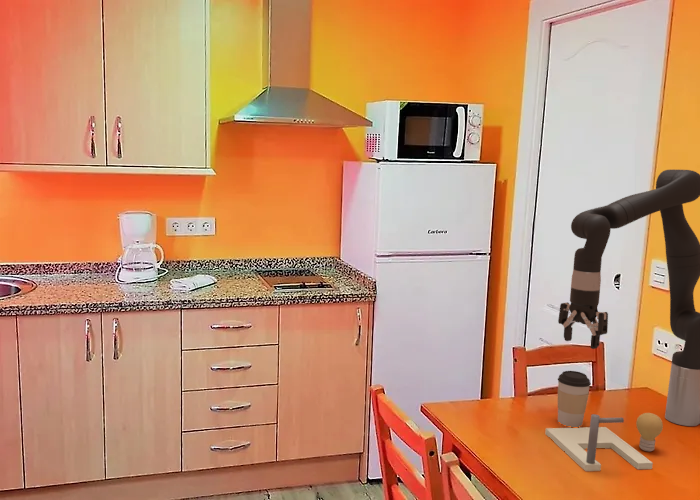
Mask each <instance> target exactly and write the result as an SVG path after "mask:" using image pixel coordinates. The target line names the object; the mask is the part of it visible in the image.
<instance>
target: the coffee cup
mask: <svg viewBox="0 0 700 500" xmlns="http://www.w3.org/2000/svg"><path fill="white" fill-rule="evenodd" d="M557 381H558V384H557V386H558V387H557V423H558V422H560V423H561V424H563V425H566V426H571V427H579V426H581V425H582V426H583V422H584V417H585V413H586V409H587V405H588V398H589V394H590V391H589V390H590V386H591V385H592V384H591V380H590V379H589V378H588V376H587V374H585V373H583V372H581V371H577V370H565V371H563V372H562V373H561V374H559V375H558V378H557ZM561 424H560V425H561ZM563 425H562V426H563ZM566 426H565V427H566ZM582 426H581V427H582ZM571 427H570V428H571ZM579 428H580V427H579Z"/></svg>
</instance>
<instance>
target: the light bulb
mask: <svg viewBox="0 0 700 500" xmlns="http://www.w3.org/2000/svg"><path fill="white" fill-rule="evenodd" d="M663 423H664V422H663V420H662V419H661V417H660V416H659V415H657V414H655V413H651V412H643V413H642V414H639V415H638V417H637V418H636V423H635V425H636V428H637V431H638V433H639V435H640V437H639V445H638V446H639V448H640V449H641V451H645V452H652V451H655V447H656V446H655V445H656V438H657V437H658V436H659V435H661V433H662V431H663V428H664V426H663V425H664V424H663Z"/></svg>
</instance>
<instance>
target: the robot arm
mask: <svg viewBox="0 0 700 500" xmlns="http://www.w3.org/2000/svg"><path fill="white" fill-rule="evenodd" d="M699 197H700V173H698V171H695V170H690V169H665V170H662V172H660V173H659V174H658V176H657V179H656V182H655V189H651V190H647V191H643V192H639V193H634V194H631V195H628V196H625V197H622V198H620V199H617V200H615V201H612V202H611V203H608V204H607V205H603V206H599V207H594V208H591V209H587V210H585V211H582V212H580V213H578V214H576V215H575V216H574V218H573V219H572V221H571V224H570V228H571V232H572V233H573V235H574V236H575V237H577V238H580V239H583V240H586V241H585V243H584V245H583V247H581V248H578V249H576V250H575V252H574V258H573V268H572V269H573V270H572V275H571V280H570V281H571V283H570V294H569V296H570V297H569V301H570V303H569V302H562V303H560V306H559V313H558V320H557V321H558V322H557V323H558V324H561V325H562V327H563V339H564V341H566V342H569V341H572V339H573V325H574V324H575V323H578V324H579V323H580V324H582V325H585V326H586V327H587V328H588V329H589V331H590V332H591V336H590V346H589V347H590V349H592V350H596V349H598V348H599V346H600V339H601V336H602V335H607V334H608V325H609V323H608V322H609V321H608V320H609V313H608V311H602V312H601V311H598V306H599V304H600V293H601V284H602V283H601V282H602V279H601V277H602V274H601V272H602V269H601V268H602V257H603V255H604V253H605V250H606V247H607V244H608V241H609V238H610V236H611V229H613V230H614V229H620V228H623V227H624V226H627V225H629V224H631V223H634V222H635V221H638V220H639V219H642V218H644V217H647V216H649V215H652V214H654V213H657V212H660V217H661V220H662V222H661V223H662V229H663V237H664V244H665V245H664V247H665V257H666V266H667V272H668V273H667V274H668V284H669V298H670V299H669V301H670V302H669V303H670V305H669V323H670V324H669V325H670V329H671V332H672V334H673V335H674V336H675V337H677V338H678V339H680V340H682V341H685V342H684V346H683V349H682V350H681V351H680V350H679V351H675V352H673V354H672V358H671V366H670V374H669V382H668V388H667V390H668V391H667V398H666V405H665V412H664V413H665V414H664V418H665V419H666V420H667V421H669V422H670V423H673V424H676V425H680V426H686V427H696V426H699V425H700V312H698V311H696V307H695V301H694V299H695V298H694V290H695V287H696V285H697V283H698V281H699V279H700V241H699V238H698V237H697V235H696V234H695V232H694V230H693V229H692V227H691V225H690V224H689V222H688V220H687V218H686V216H685V211H684V207H683V204H687V203H688V204H689V203H691V202H694V201H696V200H698V199H699ZM569 312H570V315H569Z"/></svg>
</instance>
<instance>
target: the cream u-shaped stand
mask: <svg viewBox="0 0 700 500" xmlns="http://www.w3.org/2000/svg"><path fill="white" fill-rule="evenodd" d="M624 421H625V420H624V417H601V416H600V415H599V414H595V413H593V414H591V415H590V422H589V423H590V424H589V426H588V427H587V426H586V427H579V428H571V427H555V428H553V427H546V428H545V430H544V431H545V432H544V433H545V436H547V437H548V438H549V437H550V438H551V439H552V440H553V441H554V442H553V443H554V444H555V445H556V446H558V447H559V448H560V449H561V450H562V451H563V452H564V451H565V452H564V453H565V454H567V456H568V457H569V458H571V459H572V460H573V462H575V463H576V464H577V465H578V466H579V467H580V468H581V469H583V470H584V471H585V472H600V471H601V469H602V468H601V467H602V464H601V463H600V462H599V461H598V460H596V456H597V449H596V448H605V449H612V450H613V451H614V452H616V454H617V455H619V456H620V457H621V458H623V459H624V460H625V461H627V462H628V463H629V464H630V465H631V466H632V467H634V468H635V469H637V470H652V469H653V464H654V463H653V461H651V460H649V459H648V458H647V457H646V456H644V455H643V454H642V453H641V452H639V451H638V450H637V449H635V448H634V447H633V446H631V445H630V444H629V443H627V442H626V441H624V440H623V439H622V438H621V437H619V436H618V435H617V434H616V433H614V432H613V431H612V430H610V429H609V428H608V427H606V426H600V424H612V423H613V424H615V423H616V424H617V423H620V424H621V423H624ZM550 438H549V439H550ZM551 439H550V440H551ZM552 440H551V441H552ZM586 448H587V449H586ZM586 450H587V451H586Z"/></svg>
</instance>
